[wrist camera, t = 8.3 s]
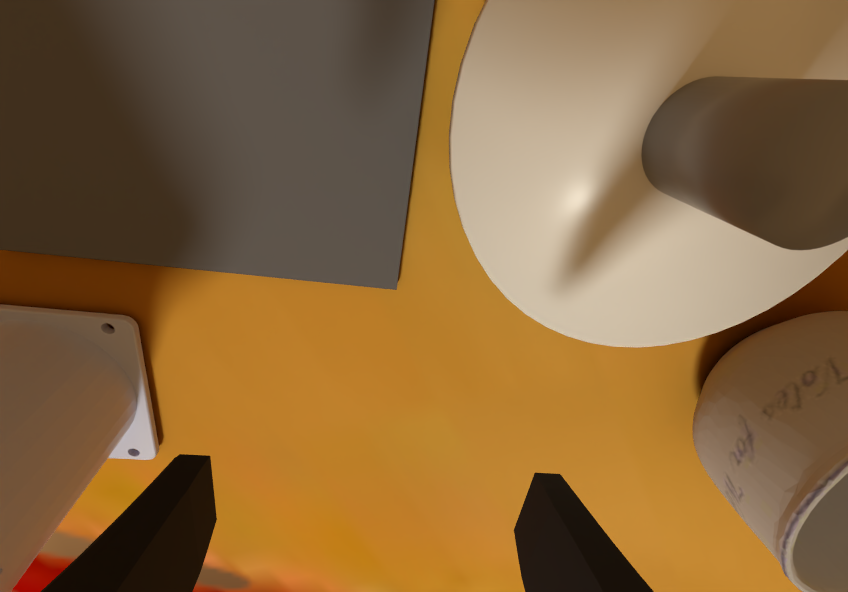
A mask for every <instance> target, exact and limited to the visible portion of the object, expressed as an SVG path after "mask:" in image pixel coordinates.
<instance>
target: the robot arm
mask: <svg viewBox="0 0 848 592" xmlns="http://www.w3.org/2000/svg"><path fill="white" fill-rule="evenodd" d="M106 323H108V324H111V325H112V326H113V327H114V329H112V328H110V327H108V325H107V324H106ZM136 449H137V450H136ZM158 452H159V443H158V438H157V432H156V426H155V420H154V414H153V409H152V403H151V397H150V391H149V386H148V380H147V374H146V368H145V363H144V357H143V351H142V345H141V339H140V334H139V328H138V325H137V322H136V321H135V320H134V319H132V318H131V317H129V316H125V315H117V314H105V313H94V312H82V311H71V310H60V309H48V308H37V307H25V306H14V305H3V304H0V592H11V590H12V589H13V588H14V586H15V585H16V584H17V582H18V581H19V579H20V578H21V577H22V575H23V574H24V573H25V571H26V570H27V568H28V567H29V566H30V564H31V563H32V562H33V560H34V559H35V557H36V556H37V555H38V553H39V552H40V551H41V549H42V548H43V546H44V545H45V544H46V542H47V541H48V540H49V538H50V537H51V535H52V534H53V533H54V531H55V530H56V529H57V527H58V526H59V524H60V523H61V522H62V520H63V519H64V518H65V516H66V515H67V513H68V512H69V511H70V509H71V508H72V507H73V505H74V504H75V502H76V501H77V500H78V498H79V497H80V496H81V494H82V493H83V491H84V490H85V489H86V487H87V486H88V485H89V483H90V482H91V480H92V479H93V478H94V476H95V475H96V474H97V472H98V471H99V469H100V468H101V467H102V465H103V464H104V463H105V461H106V460H107V458H121V459H141V460H149V459H153V458H155V456H156V455H157V453H158ZM216 520H217V518H216V508H215V499H214V489H213V479H212V470H211V460H210V456H202V455H183V454H180V455H178V456H177V457H175V458H174V459H173V460H172V462H171V463H170V464H169V465H168V466H167V467H166V468H165V469H164V470H163V471H162V472H161V473H160V474H159V475H158V477H157V478H156V479H155V480H154V481H153V482H152V483H151V484H150V485H149V486H148V487H147V488H146V489H145V490H144V491H143V492H142V494H141V495H140V496H139V497H138V498H137V499H136V500H135V501H134V502H133V503H132V504H131V505H130V506H129V507H128V508H127V509H126V510H125V511H124V512H123V513H122V514H121V515H120V516H119V517H118V518H117V519H116V520H115V521H114V522H113V523H112V524H111V525H110V526H109V527H108V528H107V529H106V530H105V531H104V532H103V533H102V534H101V535H100V536H99V537H98V538H97V539H96V540H95V541H94V542H93V543H92V544H91V545H90V546H89V547H88V548H87V549H86V550H85V551H84V552H83V553H82V554H81V555H80V556H79V557H78V558H77V559H75V560H74V561H73V562H72V563H71V564H70V565H69V566H68V567H67V568H66V569H65V570H64V571H63V572H61V573H60V574H59V575H58V576H57V577H56V578H55V579H54V580H53V581H52V582H51V583H50V584H48V585H47V586H46V587H45V588H44V589H43V590H42V591H41V592H192V591H193V589H194V586H195V584H196V581H197V579H198V577H199V574H200V571H201V569H202V565H203V562H204V559H205V556H206V553H207V550H208V546H209V543H210V540H211V536H212V533H213V530H214V526H215V523H216ZM514 533H515V539H516V546H517V552H518V559H519V564H520V570H521V576H522V580H523V584H524V588H525V592H653V590H652V589H651V588H650V587H649V586H648V584H647V583H646V582H645V581H644V580H643V579H642V577H641V576H640V575H639V574H638V573H637V571H636V570H635V569H634V568H633V566H632V565H631V564H630V563H629V562H628V560H627V559H626V558H625V557H624V555H623V554H622V553H621V552H620V550H619V549H618V548H617V547H616V546H615V544H614V543H613V542H612V541H611V539H610V538H609V537H608V535H607V534H606V533H605V532H604V530H603V529H602V528H601V526H600V525H599V524H598V523H597V521H596V520H595V519H594V517H593V516H592V515H591V514H590V512H589V511H588V510H587V508H586V507H585V506H584V504H583V503H582V502H581V501H580V499H579V498H578V497H577V495H576V494H575V493H574V491H573V490H572V489H571V488H570V486H569V485H568V484H567V482H566V481H565V480H564V479H563V477H562V476H561V475H560V474H549V473H535V474H534V477H533V480H532V482H531V485H530V488H529V490H528V493H527V496H526V499H525V501H524V504H523V507H522V510H521V512H520V515H519V518H518V520H517V523H516V526H515V529H514Z"/></svg>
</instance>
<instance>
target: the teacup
mask: <svg viewBox="0 0 848 592" xmlns="http://www.w3.org/2000/svg"><path fill="white" fill-rule="evenodd" d="M693 439H694V445H695V448H696V451H697V454H698V456H699V459H700V461H701V463H702V465H703V466H704V468H705V470H706V472H707V473H708V475H709V476H710V478H711V479H712V480H713V482H714V483H715V485H716V486H717V487H718V489H719V490H720V491H721V493H722V494H723V495H724V496H725V498H726V499H727V500H728V502H729V503H730V504H731V505H732V507H733V508H734V509H735V510H736V511H737V513H738V514H739V515H740V516H741V518H742V519H743V520H744V521H745V522H746V524H747V525H748V526H749V527H750V528H751V529H752V531H753V532H754V533H755V534H756V535H757V536H758V538H759V539H760V540H761V541H762V542H763V543H764V545H765V546H766V547H767V548H768V549H769V550H770V552H771V553H772V554H773V555H774V556H775V557H776V559H777V560H778V561H779V562H780V565H781V567H782V569H783V572H784V574H785V575H786V576H787V577H788V578H789V580H790V581H791V582H792V583H793V584H794V585H796V586H797V587H798V588H799V589H800V590H801V591H803V592H848V311H827V312H820V313H813V314H808V315H804V316H800V317H797V318H794V319H791V320H788V321H785V322H782V323H780V324H777V325H773V326H770V327H768V328H765V329H763V330H760V331H758V332H756V333H754V334H752V335H750V336H749V337H747V338H745V339H744V340H742V341H741V342H739V343H738V344H736V345H735V346H734V347H733V348H731V349H730V350H729V351H728V352H727V353H726V354H725V355H724V356H723V357H722V358H721V359H720V360H719V361H718V362H717V364H716V365H715V366H714V368H713V369H712V371H711V372H710V374H709V375H708V377H707V379H706V381H705V383H704V385H703V388H702V391H701V395H700V397H699V399H698V402H697V406H696V409H695V412H694V419H693Z"/></svg>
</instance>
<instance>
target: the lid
mask: <svg viewBox="0 0 848 592" xmlns="http://www.w3.org/2000/svg"><path fill="white" fill-rule="evenodd" d="M449 162H450V174H451V180H452V187H453V193H454V199H455V203H456V206H457V209H458V213H459V216H460V220H461V223H462V226H463V228H464V231H465V233H466V235H467V237H468V240H469V242H470V244H471V246H472V248H473V251H474V253H475V255H476V257H477V259H478V260H479V262H480V264H481V265H482V267H483V268H484V270H485V271H486V273H487V275H488V276H489V278H490V279H491V280H492V282H493V283H494V284H495V285H496V286H497V287H498V288H499V290H500V291H501V292H502V293H503V294H504V295H505V297H506V298H507V299H508V300H510V301H511V302H512V303H513V304H514V305H515V306H517V307H518V308H519V309H520V310H521V311H523V312H524V313H525V314H526V315H528V316H529V317H531V318H533V319H534V320H536V321H537V322H539V323H541V324H542V325H544V326H545V327H548V328H550V329H552V330H554V331H557V332H559V333H561V334H563V335H566V336H568V337H572V338H575V339H579V340H582V341H585V342H589V343H594V344H601V345H607V346H614V347H650V346H662V345H669V344H674V343H679V342H685V341H690V340H693V339H697V338H700V337H704V336H707V335H711V334H714V333H717V332H719V331H722V330H725V329H727V328H730V327H732V326H735V325H737V324H740V323H742V322H744V321H746V320H748V319H750V318H752V317H754V316H756V315H758V314H760V313H762V312H764V311H766V310H768V309H770V308H771V307H773V306H775V305H776V304H778V303H779V302H781V301H783V300H784V299H786V298H788V297H789V296H791V295H793V294H794V293H795V292H797V291H798V290H799V289H801V288H802V287H804V286H805V285H806V284H808V283H809V282H810V281H812V280H813V279H815V278H816V277H817V276H819V275H820V274H821V273H822V272H823V271H824V270H826V269H827V268H828V267H829V266H830V265H831V264H832V263H834V262H835V261H836V260H837V259H838V258H839V257H841V256H842V255H843V254H844V253H845V252H846V251H847V250H848V0H486V1H485V3H484V5H483V8H482V10H481V12H480V14H479V16H478V18H477V20H476V22H475V24H474V27H473V30H472V32H471V35H470V38H469V41H468V44H467V47H466V50H465V52H464V55H463V58H462V61H461V64H460V69H459V73H458V78H457V82H456V87H455V91H454V96H453V100H452V110H451V120H450V130H449Z"/></svg>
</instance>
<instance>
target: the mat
mask: <svg viewBox="0 0 848 592" xmlns="http://www.w3.org/2000/svg"><path fill="white" fill-rule="evenodd" d="M433 8H434V0H0V250H9V251H19V252H29V253H39V254H49V255H59V256H68V257H78V258H88V259H98V260H108V261H118V262H128V263H137V264H147V265H157V266H167V267H177V268H187V269H197V270H207V271H216V272H226V273H236V274H246V275H256V276H266V277H276V278H285V279H295V280H305V281H315V282H325V283H335V284H345V285H354V286H364V287H374V288H384V289H394V290H397V282H398V274H399V267H400V259H401V252H402V244H403V236H404V229H405V221H406V213H407V206H408V198H409V191H410V183H411V175H412V168H413V160H414V152H415V145H416V137H417V130H418V122H419V114H420V107H421V99H422V91H423V84H424V76H425V69H426V61H427V53H428V46H429V38H430V30H431V23H432V15H433Z"/></svg>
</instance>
